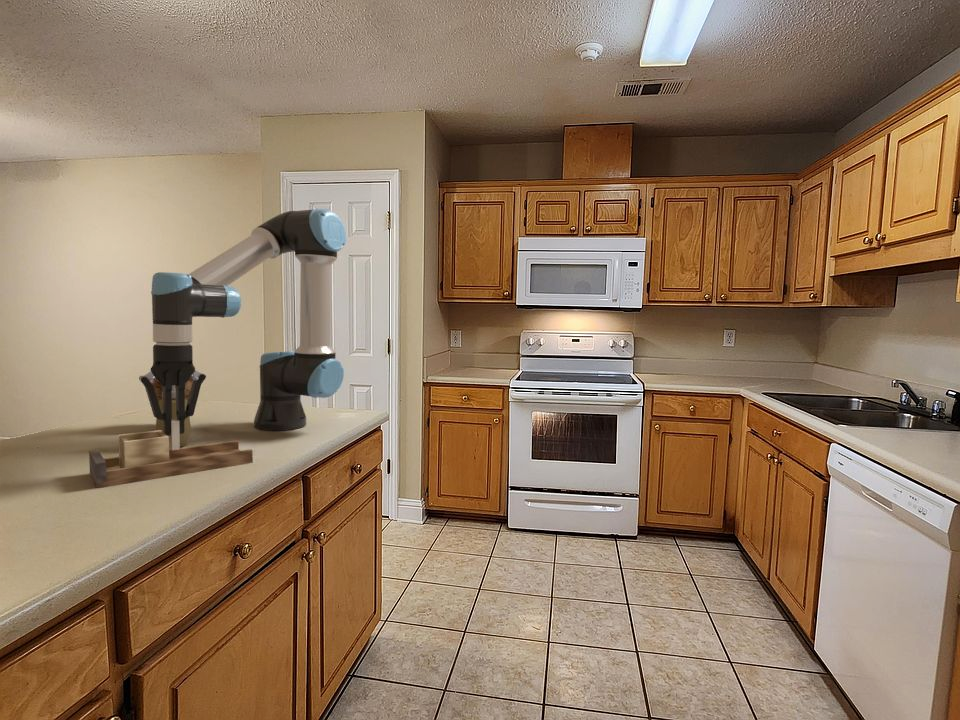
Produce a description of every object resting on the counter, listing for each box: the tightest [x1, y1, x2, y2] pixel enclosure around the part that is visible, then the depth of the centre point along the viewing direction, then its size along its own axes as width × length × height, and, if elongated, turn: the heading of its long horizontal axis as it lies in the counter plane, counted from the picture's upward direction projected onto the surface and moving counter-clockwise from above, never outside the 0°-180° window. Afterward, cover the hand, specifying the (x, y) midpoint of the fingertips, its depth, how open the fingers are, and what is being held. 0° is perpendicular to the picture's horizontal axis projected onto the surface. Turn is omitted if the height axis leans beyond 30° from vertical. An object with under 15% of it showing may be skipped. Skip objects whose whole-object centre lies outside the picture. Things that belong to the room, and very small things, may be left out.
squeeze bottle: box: [154, 385, 192, 448], centre depth 134 cm, size 8×8×18 cm
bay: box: [88, 440, 254, 489], centre depth 117 cm, size 30×11×5 cm, turn 133°
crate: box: [118, 430, 170, 468], centre depth 113 cm, size 8×7×7 cm
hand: (174, 448), depth 117 cm, fingers closed
